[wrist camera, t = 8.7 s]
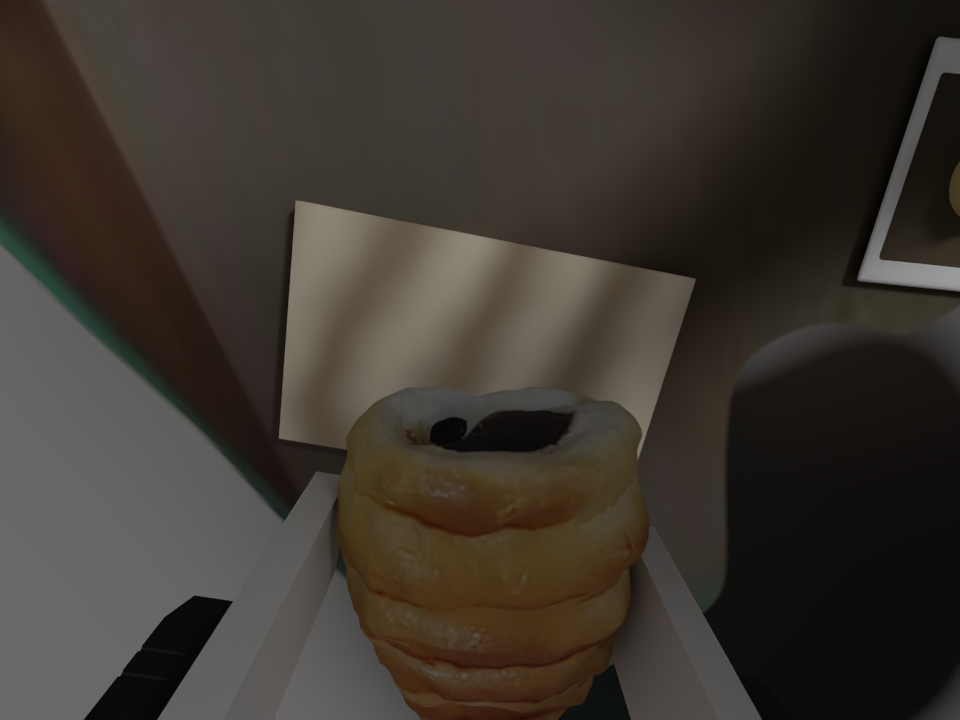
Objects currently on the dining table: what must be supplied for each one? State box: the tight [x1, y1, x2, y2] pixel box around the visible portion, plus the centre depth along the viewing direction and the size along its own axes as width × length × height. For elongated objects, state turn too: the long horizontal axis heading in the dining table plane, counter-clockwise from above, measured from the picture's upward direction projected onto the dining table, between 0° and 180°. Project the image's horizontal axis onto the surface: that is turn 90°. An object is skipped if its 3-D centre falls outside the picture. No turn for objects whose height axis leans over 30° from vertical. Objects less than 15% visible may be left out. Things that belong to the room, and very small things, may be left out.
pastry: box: [337, 387, 650, 720], centre depth 11 cm, size 9×7×4 cm
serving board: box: [279, 201, 696, 459], centre depth 28 cm, size 22×14×1 cm, turn 79°
